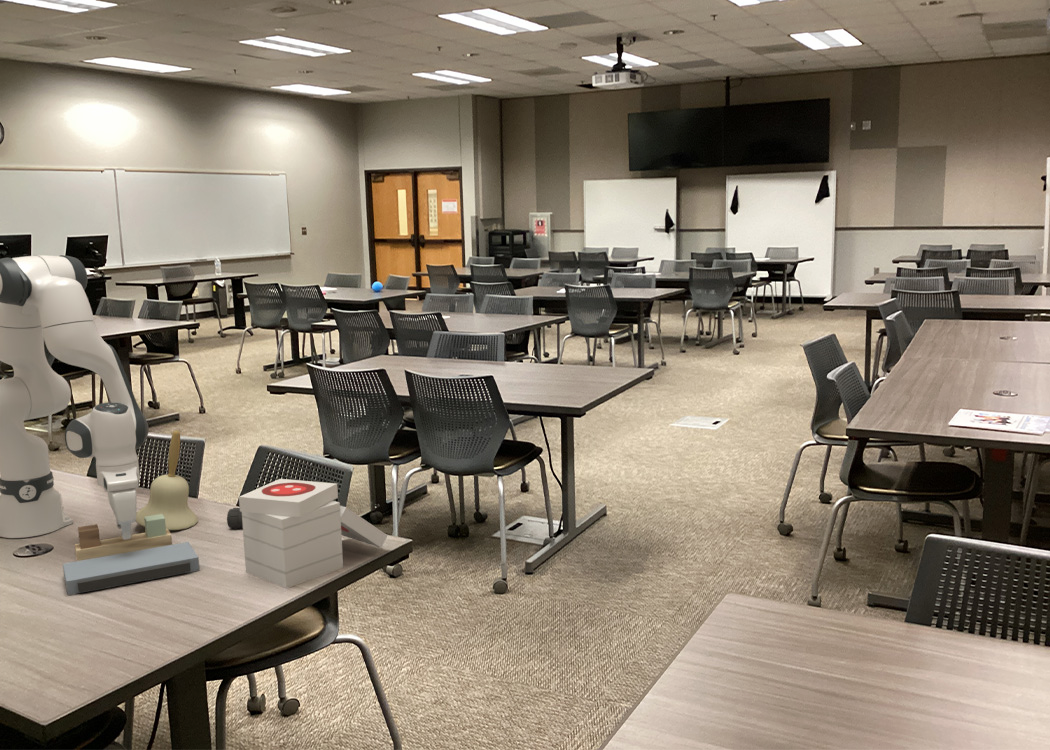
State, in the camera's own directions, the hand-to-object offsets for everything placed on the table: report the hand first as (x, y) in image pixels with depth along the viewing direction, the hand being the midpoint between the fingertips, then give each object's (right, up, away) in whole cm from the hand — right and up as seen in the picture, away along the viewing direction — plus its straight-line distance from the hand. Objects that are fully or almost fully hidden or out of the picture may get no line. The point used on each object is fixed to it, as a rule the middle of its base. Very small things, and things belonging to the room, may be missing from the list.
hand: (124, 533), depth 209 cm
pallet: (0, -6, +1) cm, 6 cm away
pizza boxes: (+45, -6, -5) cm, 46 cm away
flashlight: (+26, -2, +20) cm, 33 cm away
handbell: (+1, -2, +23) cm, 23 cm away
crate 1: (-6, -2, -3) cm, 7 cm away
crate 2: (+6, -1, +4) cm, 7 cm away
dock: (+6, -7, -10) cm, 14 cm away
